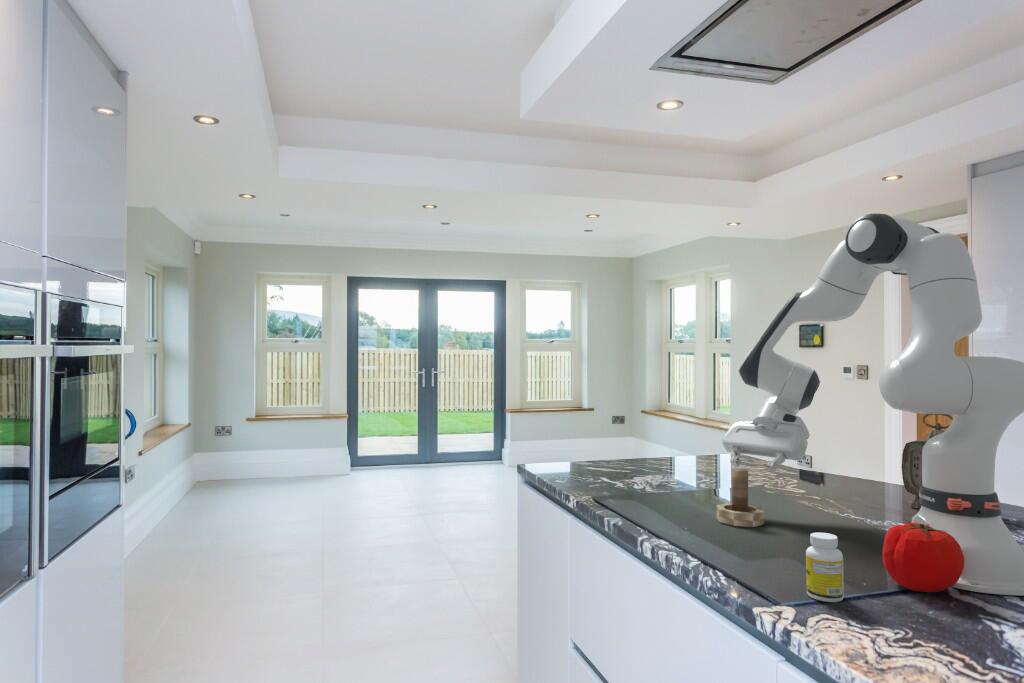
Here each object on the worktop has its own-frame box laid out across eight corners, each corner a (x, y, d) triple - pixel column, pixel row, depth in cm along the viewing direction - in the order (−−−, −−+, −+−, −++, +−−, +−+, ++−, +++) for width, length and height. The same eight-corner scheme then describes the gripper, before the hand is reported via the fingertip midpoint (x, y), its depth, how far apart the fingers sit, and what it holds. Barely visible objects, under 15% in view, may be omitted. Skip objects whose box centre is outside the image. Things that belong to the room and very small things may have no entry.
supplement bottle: (811, 588, 105) (810, 529, 106) (847, 596, 102) (846, 535, 102) (802, 597, 101) (801, 536, 101) (839, 606, 98) (838, 542, 98)
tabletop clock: (901, 507, 163) (901, 411, 164) (912, 502, 169) (911, 409, 170) (969, 518, 153) (968, 415, 153) (978, 512, 159) (977, 413, 159)
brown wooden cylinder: (749, 523, 147) (749, 471, 147) (733, 522, 147) (733, 471, 148) (746, 519, 150) (746, 469, 150) (731, 518, 151) (731, 468, 151)
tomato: (882, 572, 113) (882, 510, 113) (961, 585, 107) (960, 519, 107) (882, 594, 103) (881, 525, 103) (968, 608, 97) (967, 535, 97)
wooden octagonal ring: (766, 527, 143) (766, 514, 143) (720, 525, 145) (720, 512, 145) (758, 516, 153) (758, 504, 153) (715, 514, 155) (715, 502, 155)
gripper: (730, 412, 165) (708, 453, 159) (807, 418, 149) (787, 463, 143) (739, 428, 168) (718, 469, 161) (816, 436, 152) (797, 481, 146)
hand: (751, 466), depth 152 cm, fingers open, 8 cm apart
